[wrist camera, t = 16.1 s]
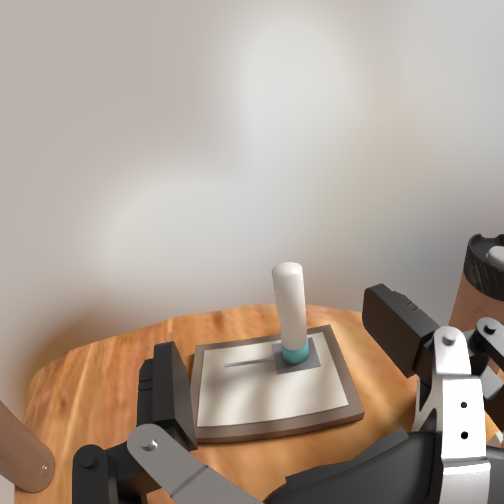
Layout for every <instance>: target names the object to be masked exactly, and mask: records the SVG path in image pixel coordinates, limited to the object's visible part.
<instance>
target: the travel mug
mask: <svg viewBox="0 0 504 504" xmlns="http://www.w3.org/2000/svg"><path fill="white" fill-rule="evenodd" d="M484 317H489V318H493V319H495V320H497V321H498V322H499V323H501V324H502V325H503V326H504V234H501V235H499V236H498V237H496V238H484V237H482V235H481V234H476V235H474V236H472V237H471V238H470V240H469V242H468V247H467V252H466V257H465V262H464V268H463V273H462V277H461V281H460V285H459V289H458V293H457V297H456V301H455V304H454V308H453V312H452V315H451V318H450V321H449V325H448V326H451V327H454V328H457V329H458V330H460V331H461V332H466V331H470V330H474V329H475V328H476V325H477V322H478V321H479V320H480V319H481V318H484ZM488 366H489V367H490V368H491V369H492V371H493V372H494V373H495V374H497V372H498V371H499V369H500V367H499V366H498V365H497V364H496V363H495V362H494V361H493V360H492V359H491V360H490V362H489V364H488Z"/></svg>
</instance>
